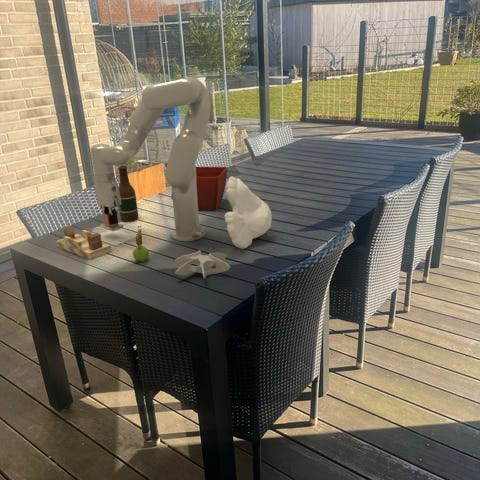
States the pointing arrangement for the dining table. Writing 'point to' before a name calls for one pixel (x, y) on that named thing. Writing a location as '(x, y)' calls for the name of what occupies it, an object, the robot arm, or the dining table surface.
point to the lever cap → (107, 223)
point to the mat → (116, 237)
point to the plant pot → (210, 186)
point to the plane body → (83, 244)
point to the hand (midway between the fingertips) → (111, 222)
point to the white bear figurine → (245, 214)
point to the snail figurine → (140, 248)
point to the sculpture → (201, 264)
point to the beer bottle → (127, 197)
